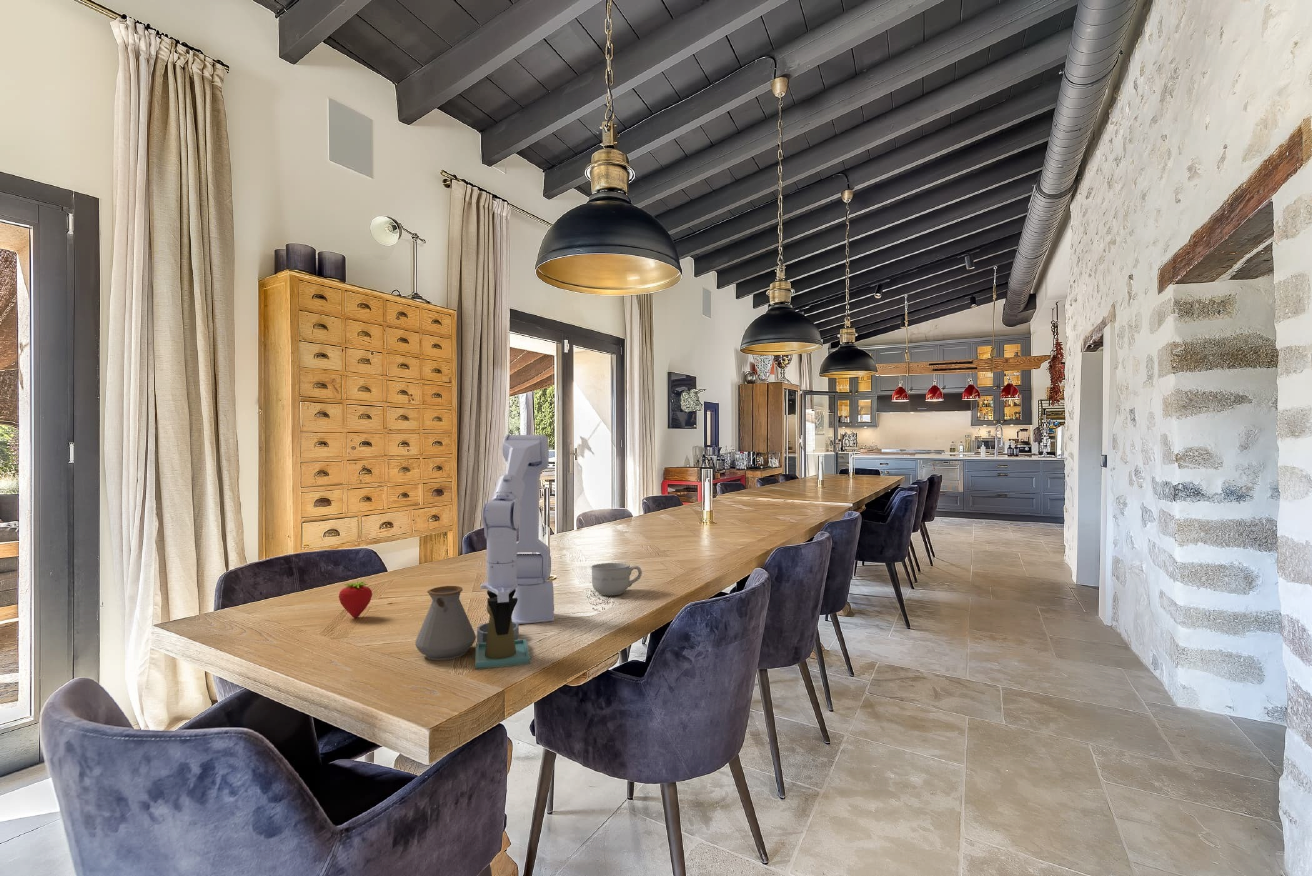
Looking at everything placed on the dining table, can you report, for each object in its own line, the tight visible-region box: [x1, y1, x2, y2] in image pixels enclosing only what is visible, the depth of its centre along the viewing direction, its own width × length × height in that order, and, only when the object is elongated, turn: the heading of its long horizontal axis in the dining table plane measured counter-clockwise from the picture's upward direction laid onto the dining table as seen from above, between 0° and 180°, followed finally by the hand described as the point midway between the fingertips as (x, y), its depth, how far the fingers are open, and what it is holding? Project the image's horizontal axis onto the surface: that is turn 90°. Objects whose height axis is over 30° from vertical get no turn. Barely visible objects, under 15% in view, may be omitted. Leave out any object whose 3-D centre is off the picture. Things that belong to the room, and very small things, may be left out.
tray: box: [474, 638, 531, 670], centre depth 119 cm, size 10×11×1 cm
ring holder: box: [476, 622, 520, 643], centre depth 130 cm, size 9×9×2 cm
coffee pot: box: [415, 585, 477, 661], centre depth 116 cm, size 21×12×15 cm, turn 14°
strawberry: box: [338, 581, 373, 619], centre depth 145 cm, size 6×8×10 cm
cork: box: [485, 597, 516, 659], centre depth 119 cm, size 6×6×11 cm
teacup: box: [590, 562, 643, 596], centre depth 167 cm, size 14×11×8 cm
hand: (501, 629), depth 119 cm, fingers closed on cork, 5 cm apart
